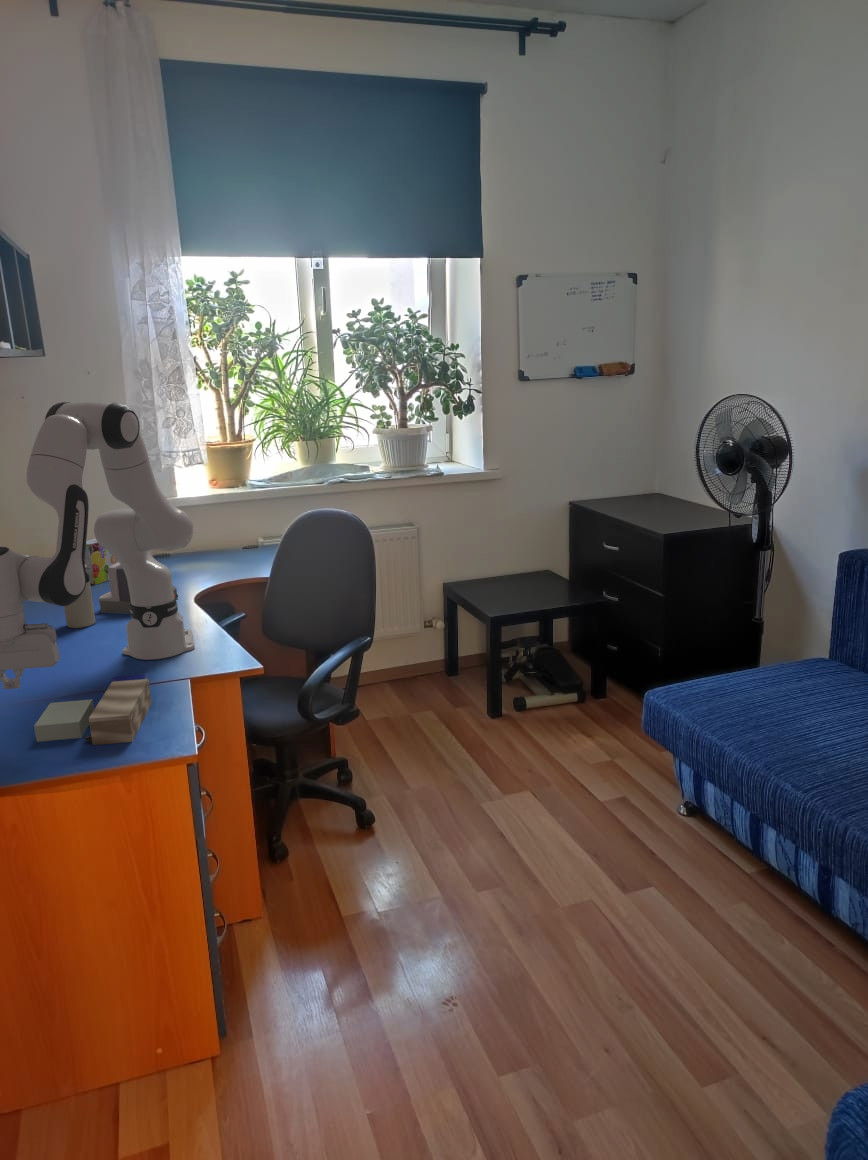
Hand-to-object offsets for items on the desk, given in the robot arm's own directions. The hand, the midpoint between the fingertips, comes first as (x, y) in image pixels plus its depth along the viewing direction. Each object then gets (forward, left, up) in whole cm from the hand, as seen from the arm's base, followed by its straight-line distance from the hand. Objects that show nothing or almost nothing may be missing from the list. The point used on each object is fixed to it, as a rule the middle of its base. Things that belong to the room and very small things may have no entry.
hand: (12, 688), depth 180 cm
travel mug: (-75, -7, -10) cm, 76 cm away
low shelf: (0, +21, -10) cm, 23 cm away
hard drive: (-21, +18, -11) cm, 30 cm away
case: (0, +10, -11) cm, 14 cm away
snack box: (-131, -11, -11) cm, 132 cm away
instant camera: (-93, +6, -11) cm, 94 cm away
